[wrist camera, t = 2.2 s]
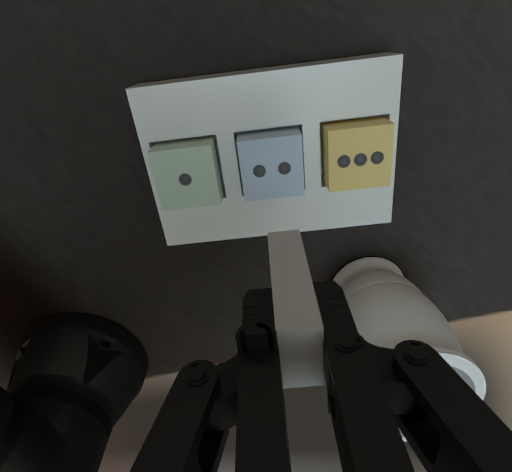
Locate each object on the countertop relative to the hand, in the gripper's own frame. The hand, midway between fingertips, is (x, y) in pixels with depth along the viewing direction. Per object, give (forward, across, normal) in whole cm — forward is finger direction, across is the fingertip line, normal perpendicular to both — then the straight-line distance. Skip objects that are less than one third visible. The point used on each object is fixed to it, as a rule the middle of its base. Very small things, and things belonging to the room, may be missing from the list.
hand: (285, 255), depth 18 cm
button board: (+18, 0, 0) cm, 18 cm away
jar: (+19, +10, -17) cm, 27 cm away
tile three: (+16, +7, 0) cm, 17 cm away
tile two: (+16, 0, 0) cm, 16 cm away
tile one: (+16, -7, 0) cm, 17 cm away
